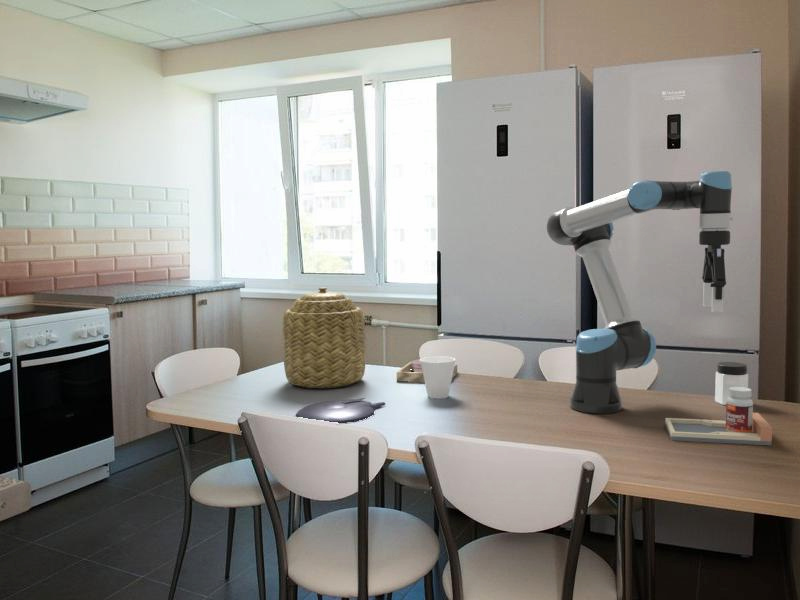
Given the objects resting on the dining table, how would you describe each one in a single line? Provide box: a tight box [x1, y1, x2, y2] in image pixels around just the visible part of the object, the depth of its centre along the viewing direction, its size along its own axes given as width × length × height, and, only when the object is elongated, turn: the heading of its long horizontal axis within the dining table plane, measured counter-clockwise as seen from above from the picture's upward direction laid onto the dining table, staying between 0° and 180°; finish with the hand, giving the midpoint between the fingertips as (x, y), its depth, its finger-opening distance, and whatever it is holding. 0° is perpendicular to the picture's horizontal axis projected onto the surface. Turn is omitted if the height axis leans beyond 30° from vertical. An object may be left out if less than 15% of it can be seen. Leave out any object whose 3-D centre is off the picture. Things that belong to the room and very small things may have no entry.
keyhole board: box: [664, 412, 773, 446], centre depth 178 cm, size 23×14×4 cm, turn 75°
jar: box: [714, 361, 749, 406], centre depth 209 cm, size 9×8×12 cm
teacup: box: [410, 359, 422, 372], centre depth 257 cm, size 12×12×6 cm
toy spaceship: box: [295, 397, 386, 424], centre depth 209 cm, size 28×24×3 cm
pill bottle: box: [725, 387, 754, 433], centre depth 176 cm, size 6×6×11 cm
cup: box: [419, 355, 456, 400], centre depth 226 cm, size 12×12×12 cm
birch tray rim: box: [396, 361, 458, 384], centre depth 257 cm, size 19×19×4 cm
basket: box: [282, 286, 367, 389], centre depth 250 cm, size 30×30×35 cm
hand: (712, 309), depth 185 cm, fingers open, 13 cm apart
